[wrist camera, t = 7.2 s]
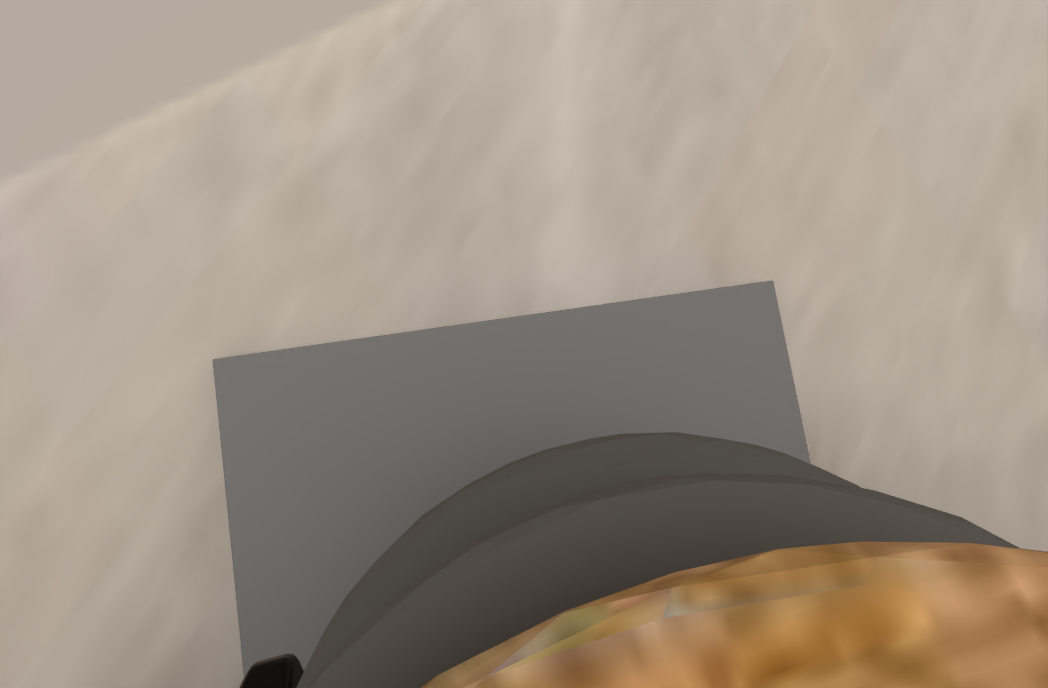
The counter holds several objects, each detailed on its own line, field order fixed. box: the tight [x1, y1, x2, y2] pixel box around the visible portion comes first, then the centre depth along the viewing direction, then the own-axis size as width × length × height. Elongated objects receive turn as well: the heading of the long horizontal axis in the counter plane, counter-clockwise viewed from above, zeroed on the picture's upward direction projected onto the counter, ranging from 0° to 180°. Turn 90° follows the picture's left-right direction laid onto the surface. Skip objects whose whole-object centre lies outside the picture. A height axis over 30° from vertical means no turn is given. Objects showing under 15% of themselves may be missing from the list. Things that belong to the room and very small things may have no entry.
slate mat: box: [213, 281, 810, 677], centre depth 18 cm, size 12×12×1 cm
